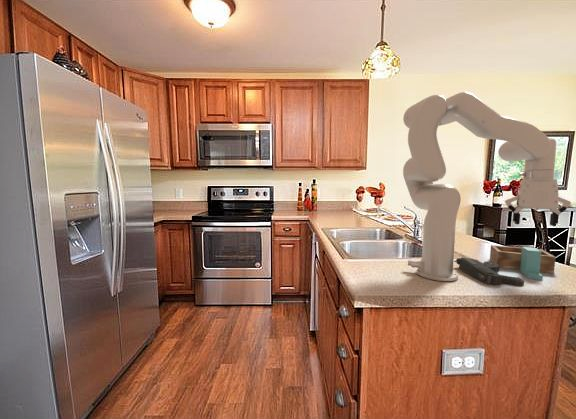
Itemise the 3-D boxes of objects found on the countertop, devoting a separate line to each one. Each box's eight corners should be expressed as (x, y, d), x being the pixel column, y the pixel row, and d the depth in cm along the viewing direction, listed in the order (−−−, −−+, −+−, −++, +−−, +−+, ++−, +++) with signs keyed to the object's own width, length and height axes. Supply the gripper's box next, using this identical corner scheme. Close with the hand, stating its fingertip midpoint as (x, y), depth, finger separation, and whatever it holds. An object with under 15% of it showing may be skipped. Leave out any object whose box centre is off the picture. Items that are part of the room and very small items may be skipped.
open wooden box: (497, 266, 103) (498, 251, 103) (489, 259, 114) (490, 245, 114) (553, 273, 96) (555, 256, 95) (540, 264, 107) (541, 249, 106)
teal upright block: (528, 278, 91) (531, 252, 90) (520, 270, 99) (522, 246, 98) (542, 280, 89) (544, 253, 88) (532, 272, 97) (534, 247, 96)
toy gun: (493, 258, 102) (452, 253, 103) (535, 278, 83) (484, 272, 84) (491, 270, 103) (450, 265, 104) (531, 292, 84) (481, 286, 85)
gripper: (509, 176, 94) (506, 224, 95) (578, 175, 86) (573, 228, 87) (504, 176, 100) (501, 222, 102) (567, 175, 92) (563, 225, 94)
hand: (534, 224), depth 94 cm, fingers open, 9 cm apart
